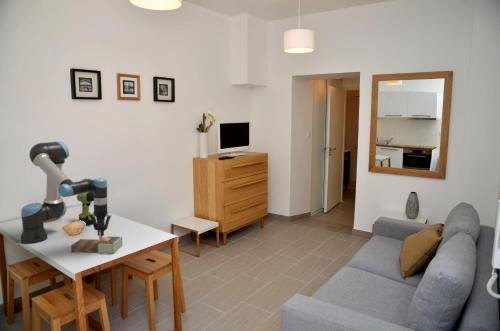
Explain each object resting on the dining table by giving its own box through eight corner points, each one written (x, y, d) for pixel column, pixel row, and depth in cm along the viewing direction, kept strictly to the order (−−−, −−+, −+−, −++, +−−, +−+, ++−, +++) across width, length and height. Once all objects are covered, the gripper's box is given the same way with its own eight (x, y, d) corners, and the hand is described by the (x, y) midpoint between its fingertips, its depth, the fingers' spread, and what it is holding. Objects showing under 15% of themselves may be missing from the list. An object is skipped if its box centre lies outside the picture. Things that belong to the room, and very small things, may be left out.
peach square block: (99, 244, 217) (99, 239, 217) (103, 241, 222) (103, 236, 222) (107, 245, 217) (107, 240, 217) (111, 242, 222) (111, 237, 222)
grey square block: (111, 241, 217) (115, 245, 217) (115, 238, 222) (118, 242, 222) (105, 246, 217) (109, 250, 218) (109, 243, 222) (112, 247, 223)
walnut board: (71, 252, 216) (71, 245, 215) (80, 245, 227) (80, 239, 226) (98, 252, 215) (98, 246, 214) (107, 245, 226) (106, 239, 225)
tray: (98, 253, 214) (97, 244, 213) (108, 245, 227) (107, 236, 226) (113, 253, 214) (113, 244, 213) (122, 245, 227) (121, 236, 226)
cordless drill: (104, 226, 262) (102, 193, 258) (95, 228, 257) (93, 195, 253) (85, 220, 275) (83, 188, 271) (77, 223, 269) (75, 190, 265)
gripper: (87, 204, 212) (87, 242, 216) (108, 206, 212) (108, 243, 216) (93, 201, 220) (93, 237, 223) (113, 202, 219) (113, 239, 223)
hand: (100, 240), depth 219 cm, fingers closed
